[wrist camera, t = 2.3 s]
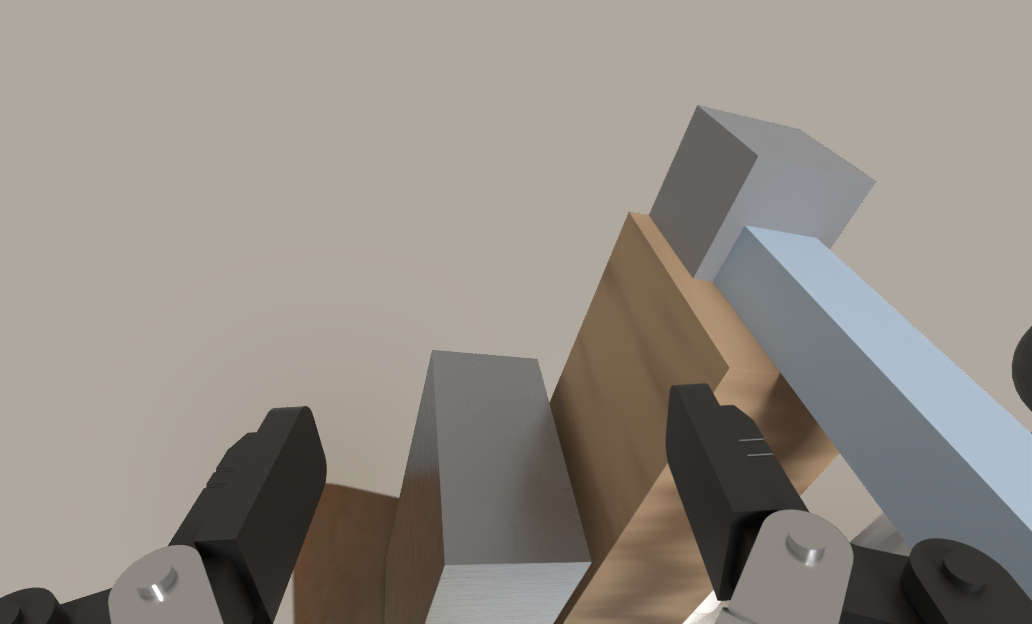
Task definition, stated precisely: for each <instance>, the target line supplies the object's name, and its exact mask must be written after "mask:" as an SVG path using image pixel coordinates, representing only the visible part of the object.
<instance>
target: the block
mask: <svg viewBox="0 0 1032 624" xmlns="http://www.w3.org/2000/svg"><path fill="white" fill-rule="evenodd" d="M875 183H876V181H875V180H874V179H872V178H871V177H869V176H868V175H867V174H865V173H864V172H862V171H860V170H859V169H858V168H856V167H855V166H853V165H852V164H850V163H849V162H847V161H846V160H844V159H843V158H841V157H840V156H838V155H837V154H835V153H834V152H832V151H831V150H830V149H828V148H827V147H825V146H823V145H822V144H820V143H819V142H817V141H816V140H815V139H813V138H811V137H810V136H809V135H807V134H806V133H804V132H803V131H801V130H800V129H796V128H791V127H787V126H783V125H779V124H775V123H770V122H766V121H762V120H758V119H754V118H749V117H745V116H741V115H737V114H733V113H729V112H724V111H720V110H716V109H711V108H707V107H703V106H699V105H697V107H696V110H695V112H694V114H693V116H692V119H691V121H690V123H689V125H688V128H687V130H686V132H685V134H684V137H683V139H682V141H681V144H680V146H679V148H678V151H677V153H676V155H675V157H674V159H673V162H672V164H671V166H670V168H669V171H668V173H667V175H666V178H665V180H664V182H663V184H662V187H661V189H660V191H659V193H658V196H657V198H656V200H655V203H654V205H653V207H652V209H651V212H650V214H649V216H650V217H651V219H652V220H653V222H654V223H655V225H656V226H657V227H658V229H659V230H660V232H661V233H662V235H663V236H664V238H665V239H666V240H667V242H668V243H669V245H670V246H671V248H672V249H673V251H674V252H675V253H676V255H677V256H678V258H679V259H680V261H681V262H682V263H683V265H684V266H685V268H686V269H687V271H688V272H689V274H690V275H691V276H692V278H693V279H698V280H705V281H713V282H714V283H715V284H716V286H717V287H718V289H719V290H720V291H721V293H722V294H723V295H724V297H725V298H726V299H727V301H728V302H729V303H730V305H731V306H732V307H733V309H734V310H735V312H736V313H737V314H738V316H739V317H740V318H741V320H742V321H743V322H744V324H745V325H746V326H747V328H748V329H749V331H750V332H751V333H752V335H753V336H754V337H755V339H756V340H757V341H758V343H759V344H760V345H761V347H762V348H763V349H764V351H765V352H766V354H767V355H768V356H769V358H770V359H771V360H772V362H773V363H774V364H775V366H776V367H777V368H778V370H779V371H780V373H781V374H782V375H783V377H784V378H785V379H786V381H787V382H788V383H789V385H790V386H791V387H792V389H793V390H794V391H795V393H796V394H797V396H798V397H799V398H800V400H801V401H802V402H803V404H804V405H805V406H806V408H807V409H808V410H809V412H810V413H811V415H812V416H813V417H814V419H815V420H816V421H817V423H818V424H819V425H820V427H821V428H822V429H823V431H824V432H825V433H826V435H827V436H828V438H829V439H830V440H831V442H832V443H833V444H834V446H835V447H836V448H837V450H838V451H839V452H840V454H841V455H842V456H843V458H844V459H845V460H846V462H847V463H848V465H849V466H850V467H851V469H852V470H853V471H854V473H855V474H856V475H857V477H858V478H859V479H860V481H861V482H862V484H863V485H864V486H865V488H866V489H867V490H868V492H869V493H870V494H871V496H872V497H873V498H874V500H875V501H876V503H877V504H878V505H879V507H880V508H881V509H882V511H883V512H884V513H885V515H886V516H887V517H888V519H889V520H890V522H891V523H892V524H893V526H894V527H895V528H896V530H897V531H898V532H899V534H900V535H901V536H902V538H903V539H904V540H905V542H906V543H907V545H908V546H909V547H910V549H911V550H912V548H913V546H915V545H916V544H917V543H918V542H920V541H922V540H925V539H931V538H943V539H949V540H954V541H957V542H961V543H964V544H966V545H969V546H971V547H973V548H975V549H977V550H980V551H981V552H983V553H985V554H986V555H988V556H989V557H991V558H992V559H994V560H995V561H996V562H998V563H999V564H1000V565H1001V566H1002V567H1003V568H1005V570H1006V571H1007V572H1008V573H1009V574H1010V575H1011V576H1012V577H1013V579H1014V580H1015V581H1016V582H1017V583H1018V585H1019V586H1020V587H1021V588H1022V589H1023V591H1024V592H1025V593H1026V594H1027V596H1028V597H1029V598H1030V599H1031V600H1032V434H1031V433H1030V432H1029V431H1028V430H1027V429H1026V428H1025V427H1024V426H1023V425H1021V424H1020V423H1019V422H1018V421H1017V420H1016V419H1015V418H1014V417H1013V416H1012V415H1010V414H1009V413H1008V412H1007V411H1006V410H1005V409H1004V408H1003V407H1002V406H1001V405H1000V404H998V403H997V402H996V401H995V400H994V399H993V398H992V397H991V396H990V395H989V394H988V393H986V392H985V391H984V390H983V389H982V388H981V387H980V386H979V385H978V384H977V383H975V382H974V381H973V380H972V379H971V378H970V377H969V376H968V375H967V374H966V373H964V372H963V371H962V370H961V369H960V368H959V367H958V366H957V365H956V364H954V363H953V362H952V361H951V360H950V359H949V358H948V357H947V356H946V355H945V354H944V353H942V352H941V351H940V350H939V349H938V348H937V347H936V346H935V345H934V344H932V343H931V342H930V341H929V340H928V339H927V338H926V337H925V336H924V335H923V334H922V333H920V332H919V331H918V330H917V329H916V328H915V327H914V326H913V325H912V324H911V323H909V322H908V321H907V320H906V319H905V318H904V317H903V316H902V315H901V314H900V313H899V312H897V311H896V310H895V309H894V308H893V307H892V306H891V305H890V304H889V303H887V302H886V301H885V300H884V299H883V298H882V297H881V296H880V295H879V294H878V293H877V292H875V291H874V290H873V289H872V288H871V287H870V286H869V285H868V284H867V283H866V282H864V281H863V280H862V279H861V278H860V277H859V276H858V275H857V274H856V273H854V272H853V271H852V270H851V269H850V268H849V267H848V266H847V265H846V264H845V263H844V262H842V261H841V260H840V259H839V258H838V257H837V256H836V255H835V254H833V253H832V251H830V249H831V247H832V246H833V244H834V243H835V241H836V240H837V238H838V237H839V236H840V234H841V233H842V231H843V230H844V228H845V227H846V225H847V224H848V222H849V221H850V219H851V218H852V216H853V215H854V213H855V212H856V211H857V209H858V208H859V206H860V205H861V203H862V202H863V200H864V199H865V197H866V196H867V194H868V193H869V191H870V190H871V188H872V187H873V185H874V184H875Z"/></svg>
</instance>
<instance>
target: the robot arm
mask: <svg viewBox="0 0 1032 624" xmlns="http://www.w3.org/2000/svg"><path fill="white" fill-rule="evenodd" d="M1012 378H1013V382H1014V385H1015V388H1016V391H1017V392H1018V394H1019V396H1020V398H1021V400H1022V401H1023V402H1024V403H1025V405H1026V406H1027V407H1028V408H1029V409H1030V410H1031V411H1032V326H1031V327H1030V329H1029V330H1028V331H1027V332H1026V333H1025V334H1024V336H1023V337H1022V338H1021V340H1020V342H1019V344H1018V345H1017V347H1016V350H1015V352H1014V356H1013V362H1012ZM1031 434H1032V433H1031ZM665 444H666V455H667V460H668V465H669V468H670V471H671V474H672V476H673V479H674V482H675V485H676V487H677V490H678V493H679V496H680V498H681V501H682V504H683V507H684V510H685V512H686V515H687V518H688V521H689V523H690V526H691V529H692V532H693V534H694V537H695V540H696V543H697V545H698V548H699V551H700V554H701V556H702V559H703V562H704V565H705V568H706V570H707V573H708V576H709V579H710V581H711V584H712V587H713V590H714V592H715V595H716V598H717V601H727V600H731V601H730V603H729V605H728V607H727V608H725V607H723V609H722V610H721V612H720V614H719V616H718V618H717V620H716V622H715V624H1032V600H1031V599H1030V598H1029V597H1028V596H1027V594H1026V593H1025V592H1024V591H1023V589H1022V588H1021V587H1020V586H1019V585H1018V583H1017V582H1016V581H1015V580H1014V579H1013V577H1012V576H1011V575H1010V574H1009V573H1008V572H1007V571H1006V570H1005V568H1003V567H1002V566H1001V565H1000V564H999V563H998V562H996V561H995V560H994V559H992V558H991V557H989V556H988V555H986V554H985V553H983V552H981V551H980V550H977V549H975V548H973V547H971V546H969V545H966V544H964V543H961V542H957V541H954V540H949V539H943V538H931V539H925V540H922V541H920V542H918V543H917V544H916V545H915V546H913V548H912V550H911V549H910V547H909V546H908V545H907V543H906V542H905V540H904V539H903V538H902V536H901V535H900V534H899V532H898V531H897V530H896V528H895V527H894V526H893V524H892V523H891V522H890V520H889V519H888V517H887V516H886V515H885V513H884V512H883V513H882V514H881V515H880V516H878V517H877V518H876V519H875V520H874V521H873V522H872V523H871V524H870V525H869V526H868V527H866V529H864V530H863V531H862V532H861V533H860V534H859V535H858V536H857V537H855V538H854V539H853V540H852V541H851V542H850V543H849V541H848V540H847V538H846V537H845V536H844V535H843V533H842V532H841V531H840V530H838V528H837V527H835V526H834V525H833V524H831V523H830V522H828V521H826V520H825V519H823V518H821V517H819V516H817V515H815V514H812V513H810V512H809V511H808V509H807V508H806V506H805V504H804V503H803V501H802V499H801V498H800V496H799V494H798V493H797V491H796V489H795V488H794V486H793V485H792V483H791V481H790V480H789V478H788V476H787V475H786V473H785V471H784V470H783V468H782V466H781V465H780V463H779V461H778V460H777V458H776V457H775V456H773V452H772V450H771V448H770V447H769V445H768V443H767V442H766V441H764V437H763V435H762V434H761V432H760V430H759V429H758V427H757V425H756V424H755V422H754V420H753V419H752V418H750V417H749V416H748V415H746V414H745V413H744V412H743V411H741V410H740V409H739V408H738V407H736V406H735V405H721V406H720V404H719V403H718V401H717V399H716V397H715V395H714V393H713V392H712V390H711V388H710V386H709V385H708V384H707V383H699V384H683V385H672V386H671V388H670V393H669V404H668V416H667V427H666V440H665ZM326 473H327V465H326V459H325V454H324V451H323V448H322V445H321V441H320V438H319V434H318V431H317V427H316V424H315V420H314V417H313V414H312V411H311V410H310V408H309V407H307V406H303V407H286V408H273V409H271V410H270V411H269V412H268V414H267V416H266V417H265V419H264V421H263V423H262V424H261V426H260V428H259V429H258V431H257V432H254V433H247V434H246V435H245V436H243V437H242V438H241V439H240V440H239V441H238V442H236V443H235V444H234V445H233V446H232V447H231V448H229V449H228V450H227V452H226V454H225V455H224V457H223V459H222V460H221V462H220V463H219V465H218V466H217V468H216V472H214V473H213V475H212V476H211V478H210V479H209V481H208V482H207V487H206V488H204V489H203V491H202V493H201V494H200V495H199V497H198V498H197V500H196V502H195V503H194V505H193V506H192V508H191V510H190V511H189V513H188V514H187V516H186V518H185V519H184V521H183V522H182V524H181V526H180V527H179V529H178V530H177V532H176V534H175V535H174V537H173V538H172V540H171V542H170V543H169V545H168V546H167V547H164V548H161V549H158V550H156V551H153V552H151V553H149V554H147V555H145V556H144V557H142V558H140V559H139V560H137V561H136V562H135V563H133V564H132V565H131V566H130V567H128V568H127V569H126V570H125V571H124V572H123V573H122V575H121V576H120V577H119V578H118V580H117V581H116V582H115V584H114V586H113V587H112V588H110V589H107V590H105V591H101V592H98V593H95V594H92V595H89V596H86V597H82V598H79V599H76V600H73V601H70V602H67V603H64V604H59V602H58V601H57V599H56V598H55V597H54V595H53V594H52V593H51V592H50V591H49V590H47V589H44V588H28V589H23V590H19V591H16V592H13V593H11V594H8V595H6V596H4V597H2V598H0V624H273V622H274V619H275V617H276V614H277V611H278V609H279V606H280V603H281V601H282V598H283V595H284V593H285V590H286V587H287V585H288V582H289V579H290V577H291V574H292V571H293V569H294V566H295V563H296V561H297V558H298V555H299V553H300V550H301V547H302V545H303V542H304V539H305V537H306V534H307V531H308V529H309V526H310V523H311V521H312V518H313V515H314V513H315V510H316V507H317V505H318V502H319V499H320V497H321V494H322V491H323V489H324V486H325V482H326Z"/></svg>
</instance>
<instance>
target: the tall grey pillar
mask: <svg viewBox="0 0 1032 624" xmlns="http://www.w3.org/2000/svg"><path fill="white" fill-rule="evenodd" d="M591 563H592V560H591V556H590V553H589V549H588V545H587V542H586V538H585V534H584V530H583V527H582V523H581V519H580V516H579V512H578V508H577V504H576V501H575V497H574V493H573V490H572V486H571V482H570V478H569V475H568V471H567V467H566V464H565V460H564V456H563V452H562V449H561V445H560V441H559V438H558V434H557V430H556V426H555V423H554V419H553V415H552V412H551V408H550V404H549V400H548V397H547V393H546V389H545V386H544V382H543V378H542V375H541V371H540V367H539V364H538V360H537V359H531V358H519V357H507V356H495V355H484V354H483V355H482V354H472V353H460V352H449V351H437V350H432V353H431V358H430V363H429V367H428V371H427V376H426V380H425V385H424V390H423V394H422V398H421V403H420V407H419V412H418V417H417V421H416V425H415V430H414V435H413V439H412V444H411V448H410V453H409V457H408V462H407V466H406V471H405V475H404V480H403V484H402V489H401V493H400V498H399V502H398V507H397V511H396V516H395V520H394V525H393V529H392V534H391V538H390V543H389V547H388V552H387V556H386V572H385V611H384V624H553V623H554V622H555V620H556V618H557V617H558V615H559V614H560V612H561V611H562V609H563V607H564V606H565V604H566V603H567V601H568V599H569V598H570V596H571V595H572V593H573V591H574V590H575V588H576V587H577V585H578V584H579V582H580V580H581V579H582V577H583V576H584V574H585V572H586V571H587V569H588V568H589V566H590V564H591Z"/></svg>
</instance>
